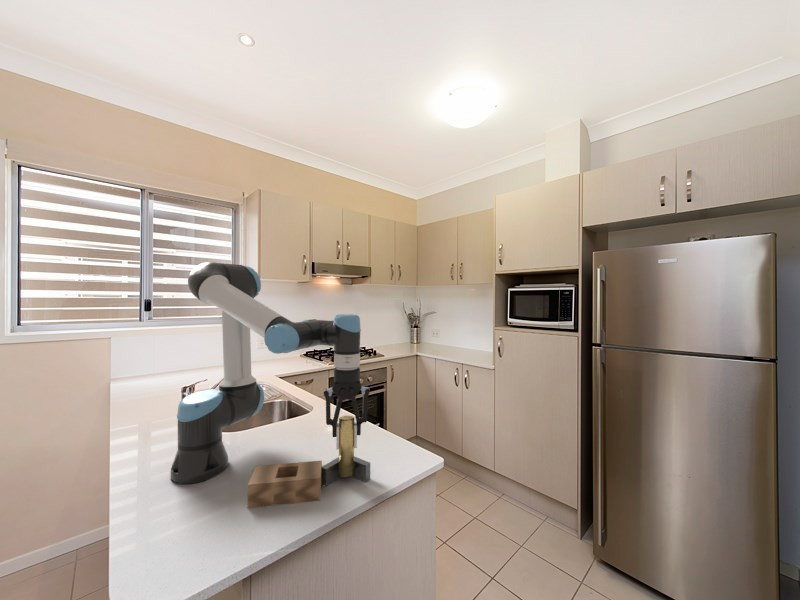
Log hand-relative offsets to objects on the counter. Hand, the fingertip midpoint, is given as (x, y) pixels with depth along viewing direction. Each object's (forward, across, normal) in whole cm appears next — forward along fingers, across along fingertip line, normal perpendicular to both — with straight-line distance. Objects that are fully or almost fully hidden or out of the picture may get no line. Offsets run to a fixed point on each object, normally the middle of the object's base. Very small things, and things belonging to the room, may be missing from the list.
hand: (346, 446), depth 94 cm
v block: (+10, 0, +2) cm, 10 cm away
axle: (+8, 0, 0) cm, 8 cm away
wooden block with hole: (+10, -16, -3) cm, 19 cm away
